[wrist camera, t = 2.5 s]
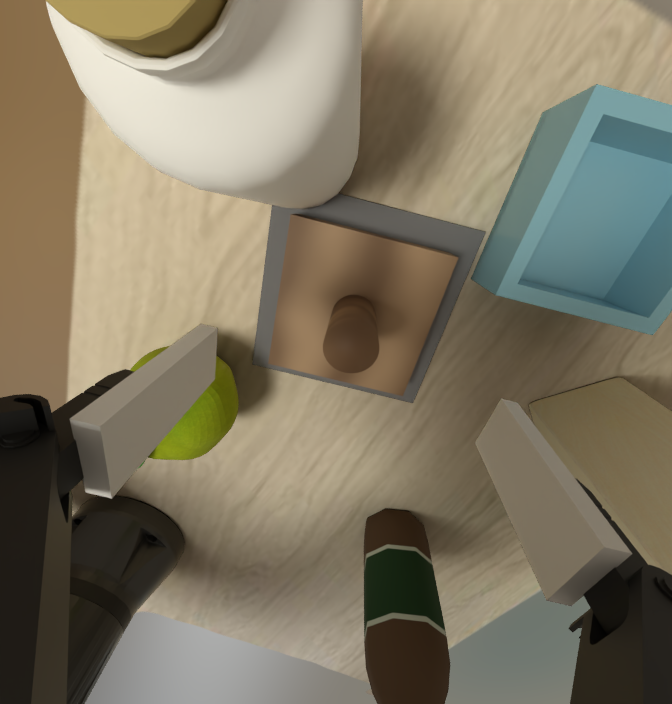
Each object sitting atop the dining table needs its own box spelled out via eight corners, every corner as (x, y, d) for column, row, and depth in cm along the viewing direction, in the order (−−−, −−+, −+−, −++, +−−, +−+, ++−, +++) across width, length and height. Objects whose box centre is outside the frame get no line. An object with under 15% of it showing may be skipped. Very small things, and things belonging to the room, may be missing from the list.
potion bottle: (248, 52, 19) (-389, -946, 3) (374, 86, 20) (462, -645, 3) (235, 194, 23) (-95, 117, 6) (343, 222, 23) (305, 221, 6)
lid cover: (275, 351, 28) (243, 404, 21) (297, 213, 23) (265, 217, 15) (399, 381, 29) (413, 445, 21) (449, 252, 23) (491, 275, 16)
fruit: (147, 375, 31) (60, 444, 22) (190, 310, 27) (107, 361, 18) (223, 425, 33) (171, 507, 24) (271, 371, 30) (232, 443, 21)
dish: (470, 278, 24) (495, 295, 20) (542, 112, 20) (597, 84, 15) (599, 311, 25) (652, 335, 20) (702, 156, 20) (801, 141, 15)
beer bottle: (416, 501, 36) (499, 948, 14) (430, 542, 39) (517, 961, 17) (354, 512, 37) (343, 926, 16) (372, 550, 40) (385, 942, 19)
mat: (253, 362, 29) (252, 364, 29) (276, 177, 22) (275, 177, 22) (412, 401, 30) (412, 403, 30) (484, 231, 23) (485, 232, 22)
